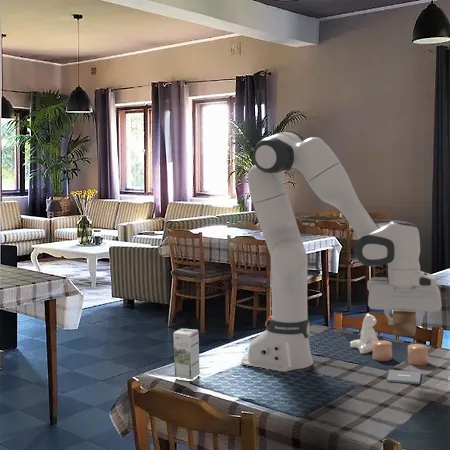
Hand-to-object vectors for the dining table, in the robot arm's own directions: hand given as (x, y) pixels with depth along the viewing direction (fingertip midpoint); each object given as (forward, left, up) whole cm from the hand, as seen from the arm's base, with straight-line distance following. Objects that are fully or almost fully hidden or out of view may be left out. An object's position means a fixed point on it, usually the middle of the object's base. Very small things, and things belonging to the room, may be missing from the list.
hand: (404, 325), depth 195 cm
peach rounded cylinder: (+3, +16, -16) cm, 23 cm away
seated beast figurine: (-14, +27, -16) cm, 34 cm away
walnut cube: (0, 0, -2) cm, 2 cm away
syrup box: (-61, -16, -16) cm, 65 cm away
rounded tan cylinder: (-8, +18, -16) cm, 25 cm away
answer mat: (0, 0, -16) cm, 16 cm away
